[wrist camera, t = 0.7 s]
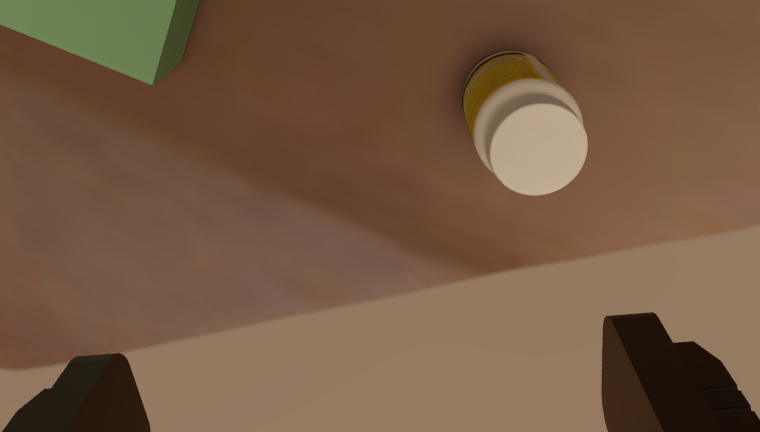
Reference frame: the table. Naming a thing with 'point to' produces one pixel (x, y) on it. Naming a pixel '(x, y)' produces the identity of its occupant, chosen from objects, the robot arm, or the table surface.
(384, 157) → the table surface
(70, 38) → the green flat block
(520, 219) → the table surface
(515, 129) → the supplement bottle
